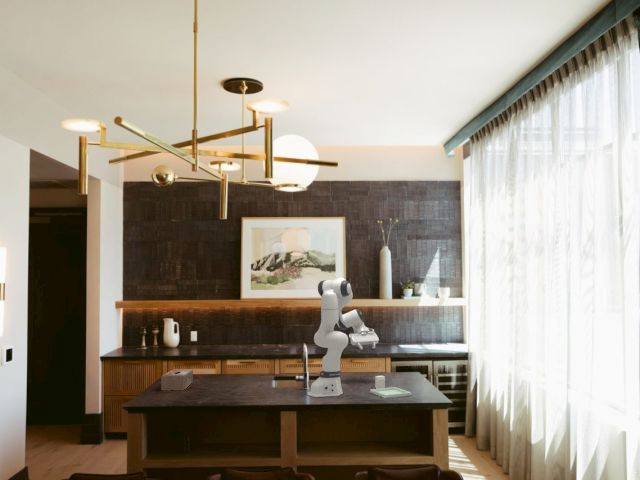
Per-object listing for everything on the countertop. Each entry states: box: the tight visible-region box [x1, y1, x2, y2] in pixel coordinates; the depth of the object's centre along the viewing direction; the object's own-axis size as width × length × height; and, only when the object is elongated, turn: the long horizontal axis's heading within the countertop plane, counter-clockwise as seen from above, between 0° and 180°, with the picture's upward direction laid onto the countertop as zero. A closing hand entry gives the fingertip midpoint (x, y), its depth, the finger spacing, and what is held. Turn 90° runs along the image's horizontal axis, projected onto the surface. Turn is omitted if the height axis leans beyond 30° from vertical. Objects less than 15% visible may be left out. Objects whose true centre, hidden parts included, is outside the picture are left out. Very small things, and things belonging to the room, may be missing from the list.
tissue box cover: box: [160, 369, 194, 391], centre depth 398 cm, size 26×14×10 cm, turn 179°
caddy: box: [374, 375, 386, 389], centre depth 385 cm, size 5×5×8 cm
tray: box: [369, 386, 413, 399], centre depth 367 cm, size 18×20×2 cm
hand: (368, 348), depth 402 cm, fingers open, 8 cm apart
